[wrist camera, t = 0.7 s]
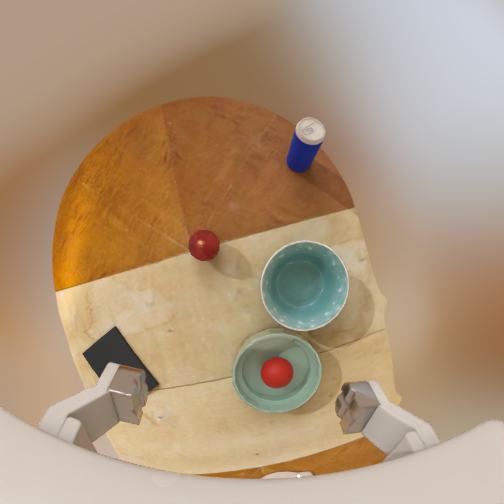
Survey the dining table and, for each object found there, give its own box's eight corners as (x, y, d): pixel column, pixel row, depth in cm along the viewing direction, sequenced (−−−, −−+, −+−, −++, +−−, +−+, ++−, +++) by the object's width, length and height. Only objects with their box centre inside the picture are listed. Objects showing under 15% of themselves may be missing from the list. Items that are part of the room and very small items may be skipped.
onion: (193, 261, 55) (183, 260, 47) (193, 233, 55) (183, 227, 47) (221, 261, 55) (216, 259, 47) (221, 232, 55) (216, 226, 47)
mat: (159, 383, 53) (158, 385, 52) (123, 406, 52) (122, 407, 52) (115, 326, 54) (114, 326, 53) (83, 352, 53) (82, 353, 52)
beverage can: (301, 147, 56) (315, 112, 41) (314, 167, 56) (332, 135, 41) (281, 157, 56) (290, 122, 41) (294, 177, 56) (307, 147, 41)
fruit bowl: (330, 370, 53) (337, 379, 47) (266, 414, 52) (268, 426, 47) (284, 310, 54) (287, 315, 48) (217, 358, 53) (214, 367, 48)
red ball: (297, 369, 52) (302, 380, 46) (272, 386, 52) (274, 399, 46) (279, 347, 53) (282, 356, 46) (253, 364, 53) (253, 376, 46)
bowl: (261, 325, 54) (263, 334, 45) (257, 247, 55) (257, 243, 46) (337, 318, 54) (350, 326, 45) (333, 242, 55) (346, 238, 46)
